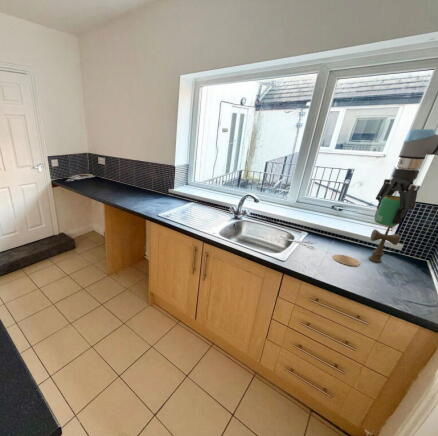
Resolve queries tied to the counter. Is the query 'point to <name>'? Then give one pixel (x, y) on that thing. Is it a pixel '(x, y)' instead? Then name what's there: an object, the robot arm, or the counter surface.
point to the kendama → (382, 243)
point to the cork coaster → (346, 260)
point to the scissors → (302, 243)
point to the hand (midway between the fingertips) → (386, 219)
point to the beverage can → (387, 210)
